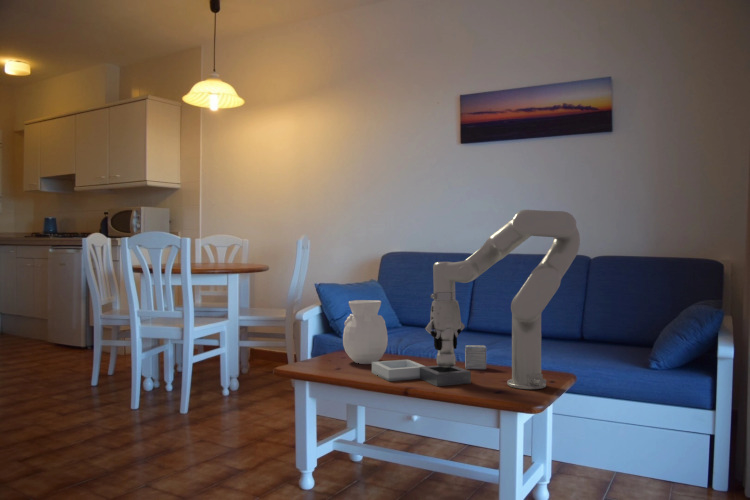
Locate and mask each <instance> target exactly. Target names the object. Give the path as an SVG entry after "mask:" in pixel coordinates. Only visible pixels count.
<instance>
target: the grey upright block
mask: <svg viewBox="0 0 750 500" xmlns="http://www.w3.org/2000/svg"><path fill="white" fill-rule="evenodd" d="M464 347H465V349H464V355H465V357H464V360H465V361H464V362H465V363H464V366H465V370H487V346H486V345H479V344H478V345H474V344H473V345H471V344H470V345H464Z"/></svg>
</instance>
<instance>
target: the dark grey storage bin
mask: <svg viewBox="0 0 750 500" xmlns="http://www.w3.org/2000/svg"><path fill="white" fill-rule="evenodd" d="M419 380H422V381H424V382H426V383H429V384H430V385H433V386H435V387H444V386H445V387H446V386H456V385H465V384H466V385H468V384H472V381H471V380H472V371H470V370H469V369H466V368H465V369H464V368H463V367H459V366H457V365H454V366H452V367H448V368H445V367H440V366H438V364H437V365H428V366H426V365H424V367H420V379H419Z"/></svg>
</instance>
